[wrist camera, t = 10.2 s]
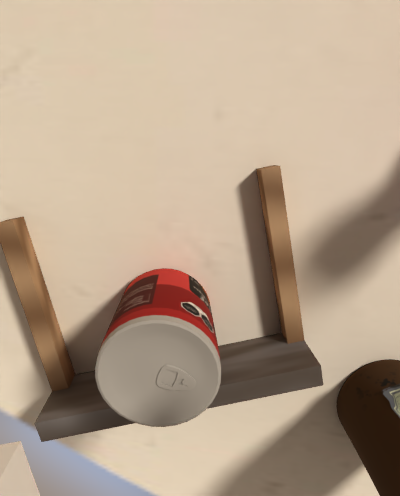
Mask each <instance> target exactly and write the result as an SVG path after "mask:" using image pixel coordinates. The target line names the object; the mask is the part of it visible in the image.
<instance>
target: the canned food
mask: <svg viewBox="0 0 400 496" xmlns="http://www.w3.org/2000/svg"><path fill="white" fill-rule="evenodd" d="M95 379H96V382H97V386H98V389H99V391H100V393H101V395H102V397H103V399H104V400H105V401H106V403H107V404H108V405H109V406H110V407H111V408H112V409H113V410H114V411H115V412H117V413H118V414H119V415H121V416H123V417H124V418H126V419H128V420H130V421H133V422H135V423H138V424H141V425H147V426H153V427H166V426H173V425H178V424H181V423H184V422H187V421H189V420H191V419H193V418H195V417H197V416H198V415H199V414H201V413H202V412H203V411H205V410H206V409H207V407H208V406H209V405H210V404H211V403H212V402H213V400H214V398H215V396H216V395H217V393H218V389H219V386H220V382H221V363H220V355H219V349H218V344H217V339H216V334H215V328H214V323H213V318H212V313H211V307H210V302H209V299H208V296H207V294H206V292H205V290H204V289H203V287H202V286H201V285H200V284H199V283H198V282H197V281H196V280H195V279H194V278H192V277H191V276H189V275H188V274H185V273H183V272H181V271H178V270H174V269H156V270H152V271H149V272H146V273H144V274H142V275H140V276H138V277H137V278H136V279H135V280H133V281H132V282H131V283H130V285H129V286H128V287H127V288H126V290H125V293H124V295H123V297H122V299H121V301H120V304H119V306H118V308H117V310H116V313H115V315H114V317H113V319H112V322H111V324H110V326H109V328H108V331H107V333H106V335H105V337H104V340H103V342H102V345H101V347H100V350H99V352H98V357H97V361H96V366H95Z"/></svg>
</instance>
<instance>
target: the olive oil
mask: <svg viewBox="0 0 400 496" xmlns="http://www.w3.org/2000/svg"><path fill="white" fill-rule="evenodd" d="M337 412H338V416H339V419H340V421H341V423H342V425H343V427H344V429H345V431H346V433H347V435H348V436H349V438H350V440H351V442H352V444H353V446H354V447H355V449H356V451H357V453H358V455H359V457H360V458H361V460H362V462H363V464H364V466H365V468H366V470H367V472H368V473H369V475H370V477H371V479H372V481H373V483H374V485H375V487H376V489H377V491H378V493H379V495H380V496H400V361H399V360H380V361H376V362H373V363H370V364H367V365H365V366H363V367H362V368H360V369H358V370H357V371H356V372H354V373H353V374H352V375H351V376H350V377H349V378H348V379H347V380H346V382H345V383H344V385H343V386H342V388H341V390H340V393H339V395H338V400H337Z"/></svg>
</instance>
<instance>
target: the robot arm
mask: <svg viewBox="0 0 400 496" xmlns="http://www.w3.org/2000/svg"><path fill="white" fill-rule="evenodd" d="M0 496H40V494H39V491H38V488H37V485H36V482H35V480H34V477H33V474H32V471H31V468H30V466H29V463H28V460H27V457H26V455H25V452H24V449H23V446H22V444H21V441H18V442H13V443H7V444H2V445H0Z"/></svg>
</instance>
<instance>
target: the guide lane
mask: <svg viewBox="0 0 400 496" xmlns="http://www.w3.org/2000/svg"><path fill="white" fill-rule="evenodd" d="M256 170H257V176H258V183H259V189H260V195H261V202H262V208H263V215H264V221H265V228H266V234H267V240H268V247H269V253H270V260H271V266H272V273H273V279H274V285H275V292H276V298H277V305H278V311H279V318H280V324H281V330H282V333H281V334H276V335H271V336H266V337H261V338H256V339H251V340H246V341H241V342H236V343H231V344H226V345H221V346H218V349H219V355H220V363H221V382H220V386H219V389H218V393H217V395H216V396H215V398H214V400H213V402H212V403H211V404H210V405H209V406H208V407H207V408H212V407H217V406H222V405H227V404H232V403H237V402H242V401H247V400H252V399H257V398H262V397H267V396H272V395H277V394H282V393H287V392H292V391H297V390H302V389H307V388H312V387H317V386H322V385H323V379H322V371H321V365H320V364H319V362H318V361H317V359H316V358H315V356H314V355H313V353H312V351H311V350H310V348H309V347H308V345H307V344H306V342H305V341H304V335H303V327H302V320H301V313H300V306H299V299H298V291H297V284H296V277H295V270H294V263H293V255H292V248H291V241H290V234H289V227H288V220H287V212H286V205H285V198H284V191H283V184H282V176H281V169H280V166H276V165H273V166H268V167H263V168H258V169H256ZM0 243H1V246H2V249H3V252H4V254H5V257H6V260H7V263H8V266H9V269H10V272H11V275H12V277H13V280H14V283H15V286H16V289H17V292H18V295H19V297H20V300H21V303H22V306H23V309H24V312H25V315H26V318H27V320H28V323H29V326H30V329H31V332H32V335H33V338H34V340H35V343H36V346H37V349H38V352H39V355H40V358H41V360H42V363H43V366H44V369H45V372H46V375H47V378H48V381H49V383H50V386H51V389H52V393H51V395H50V397H49V398H48V400H47V402H46V404H45V406H44V407H43V409H42V411H41V413H40V415H39V416H38V418H37V420H36V422H35V426H36V428H37V431H38V434H39V436H40V439H41V441H42V442H44V441H49V440H53V439H58V438H63V437H68V436H73V435H78V434H83V433H88V432H93V431H98V430H103V429H108V428H113V427H118V426H123V425H128V424H133V423H135V422H133V421H130V420H128V419H126V418H124V417H123V416H121V415H119V414H118V413H117V412H115V411H114V410H113V409H112V408H111V407H110V406H109V405H108V404H107V403H106V401H105V400H104V399H103V397H102V395H101V393H100V391H99V389H98V386H97V382H96V379H95V371H93V372H88V373H83V374H78V375H75V373H74V370H73V367H72V364H71V361H70V358H69V355H68V352H67V349H66V346H65V343H64V340H63V336H62V333H61V330H60V327H59V324H58V321H57V318H56V315H55V312H54V309H53V306H52V303H51V300H50V297H49V294H48V290H47V287H46V284H45V281H44V278H43V275H42V272H41V269H40V266H39V263H38V260H37V257H36V254H35V251H34V248H33V244H32V241H31V238H30V235H29V232H28V229H27V226H26V223H25V220H24V217H19V218H14V219H9V220H5V221H2V222H0Z"/></svg>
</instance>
